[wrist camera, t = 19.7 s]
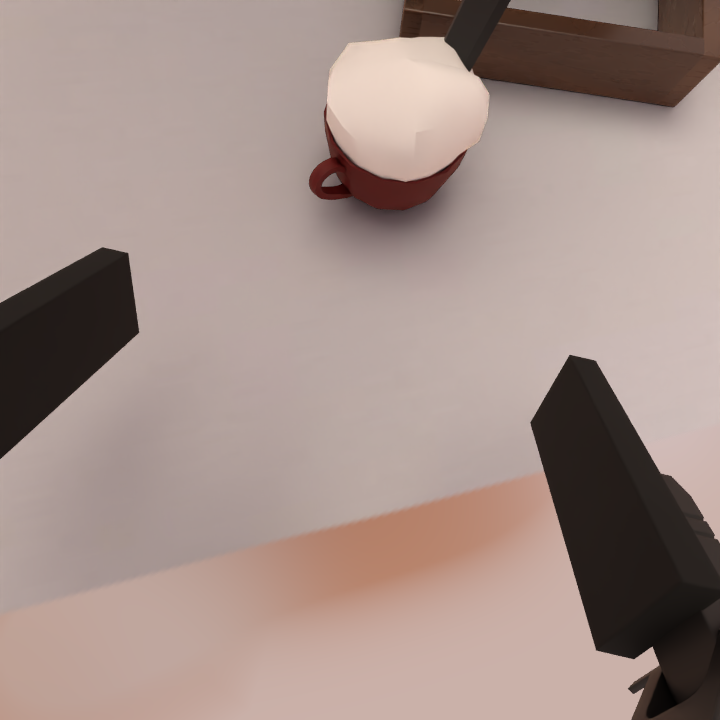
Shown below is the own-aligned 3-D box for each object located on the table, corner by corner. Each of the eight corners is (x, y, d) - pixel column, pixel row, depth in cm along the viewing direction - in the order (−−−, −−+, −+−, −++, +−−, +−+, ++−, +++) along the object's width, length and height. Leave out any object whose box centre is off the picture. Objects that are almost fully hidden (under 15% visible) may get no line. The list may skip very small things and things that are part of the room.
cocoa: (320, 246, 21) (290, -6, 9) (292, 132, 21) (229, -235, 10) (506, 205, 21) (710, -79, 9) (470, 97, 22) (614, -284, 10)
